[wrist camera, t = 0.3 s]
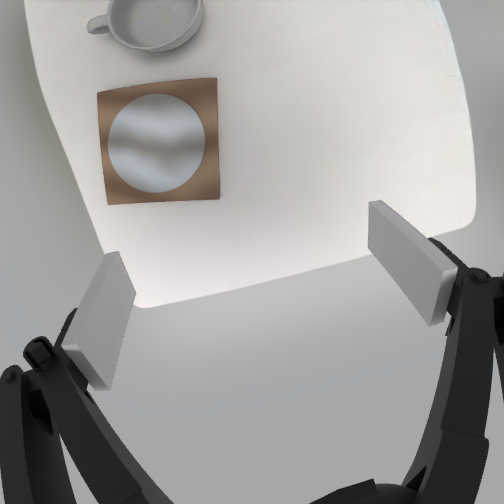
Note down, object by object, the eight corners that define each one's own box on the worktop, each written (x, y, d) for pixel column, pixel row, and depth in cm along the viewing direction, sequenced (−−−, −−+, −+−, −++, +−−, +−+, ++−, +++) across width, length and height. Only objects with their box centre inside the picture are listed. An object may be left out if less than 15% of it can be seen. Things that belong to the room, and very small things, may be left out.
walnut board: (100, 92, 34) (94, 92, 32) (217, 78, 34) (215, 76, 33) (111, 202, 41) (105, 206, 39) (220, 196, 41) (219, 201, 40)
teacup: (213, -12, 28) (207, -36, 21) (202, 59, 33) (193, 48, 26) (114, -6, 27) (90, -24, 20) (103, 62, 32) (75, 55, 25)
